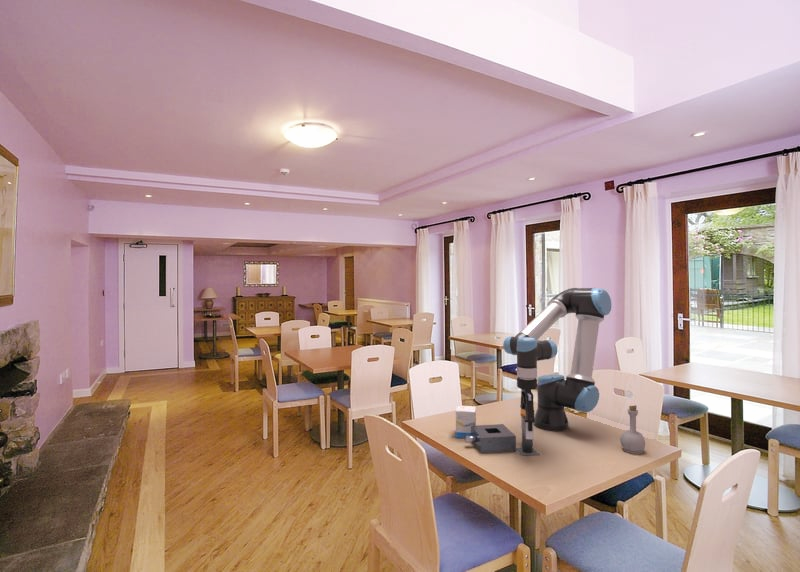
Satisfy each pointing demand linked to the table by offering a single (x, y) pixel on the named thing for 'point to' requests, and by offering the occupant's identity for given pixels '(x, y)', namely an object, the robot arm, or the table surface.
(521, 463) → the table surface
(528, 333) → the robot arm
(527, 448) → the grey cylinder with cap
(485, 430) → the block
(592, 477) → the table surface
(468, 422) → the ink box
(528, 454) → the mat
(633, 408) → the potion bottle
